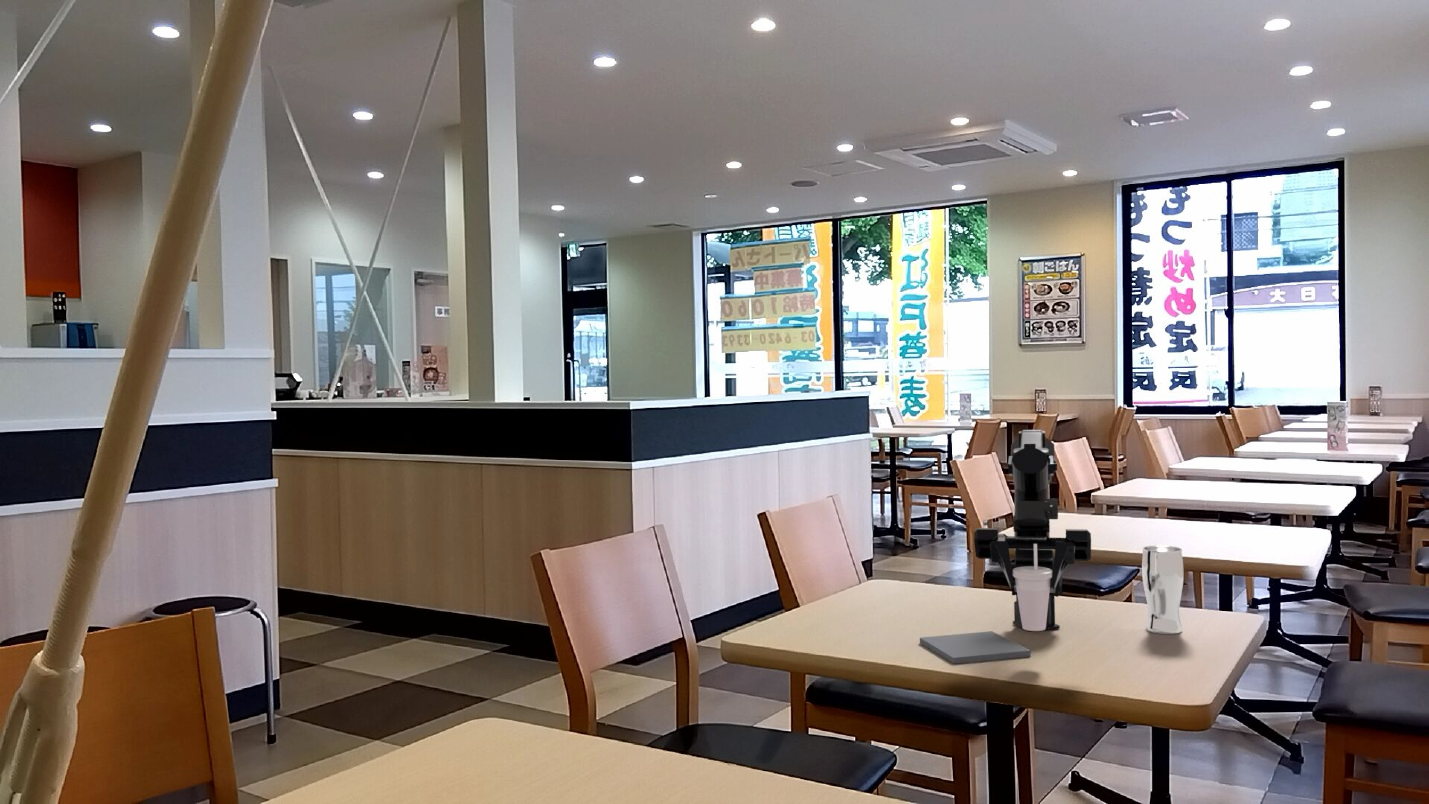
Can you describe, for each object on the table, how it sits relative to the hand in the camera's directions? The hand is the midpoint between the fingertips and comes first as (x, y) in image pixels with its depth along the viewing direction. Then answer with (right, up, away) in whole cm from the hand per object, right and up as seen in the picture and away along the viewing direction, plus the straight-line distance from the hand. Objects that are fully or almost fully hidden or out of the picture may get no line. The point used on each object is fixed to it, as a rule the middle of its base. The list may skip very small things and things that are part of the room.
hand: (1032, 587), depth 172 cm
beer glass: (+30, -12, +20) cm, 38 cm away
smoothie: (+1, -7, +2) cm, 7 cm away
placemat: (-7, -13, +11) cm, 18 cm away
